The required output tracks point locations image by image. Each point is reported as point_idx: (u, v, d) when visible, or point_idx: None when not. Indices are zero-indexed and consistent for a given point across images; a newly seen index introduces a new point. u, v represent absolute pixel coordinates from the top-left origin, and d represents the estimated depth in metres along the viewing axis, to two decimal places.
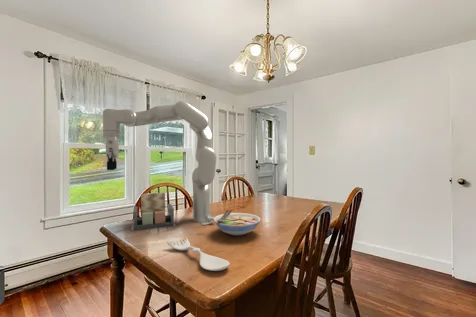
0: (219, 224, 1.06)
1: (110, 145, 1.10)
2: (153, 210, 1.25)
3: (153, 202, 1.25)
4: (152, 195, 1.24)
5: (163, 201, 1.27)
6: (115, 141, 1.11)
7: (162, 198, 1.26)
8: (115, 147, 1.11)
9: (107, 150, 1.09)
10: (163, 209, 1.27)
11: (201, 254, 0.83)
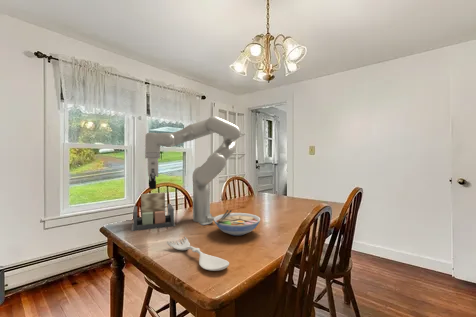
0: (219, 224, 1.06)
1: (153, 166, 1.21)
2: (153, 210, 1.25)
3: (153, 202, 1.25)
4: (152, 195, 1.24)
5: (163, 201, 1.27)
6: (157, 162, 1.22)
7: (162, 198, 1.26)
8: (157, 168, 1.22)
9: (150, 171, 1.20)
10: (163, 209, 1.27)
11: (201, 254, 0.83)
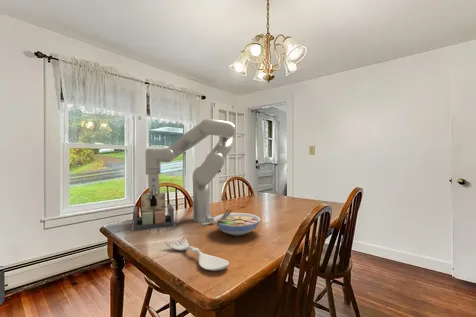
0: (219, 224, 1.06)
1: (153, 183, 1.21)
2: (153, 210, 1.25)
3: None
4: None
5: (163, 201, 1.27)
6: (157, 178, 1.22)
7: (162, 198, 1.26)
8: (157, 184, 1.22)
9: (151, 187, 1.20)
10: (163, 209, 1.27)
11: (200, 254, 0.83)
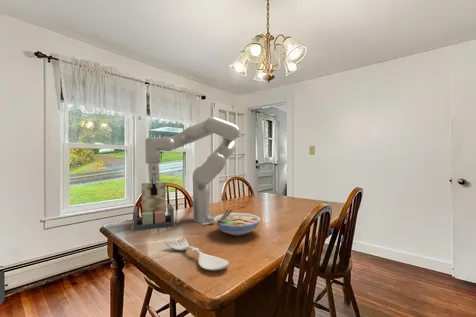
0: (219, 224, 1.06)
1: (153, 171, 1.21)
2: (154, 199, 1.25)
3: None
4: None
5: (164, 190, 1.27)
6: (157, 167, 1.22)
7: (162, 187, 1.26)
8: (158, 172, 1.22)
9: (151, 176, 1.20)
10: (164, 198, 1.27)
11: (200, 254, 0.83)
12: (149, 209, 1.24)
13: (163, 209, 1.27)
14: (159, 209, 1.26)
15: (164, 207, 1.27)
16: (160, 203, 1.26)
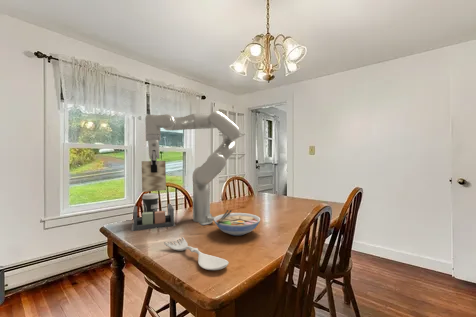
0: (219, 224, 1.06)
1: (154, 148, 1.21)
2: (154, 177, 1.25)
3: None
4: None
5: (164, 169, 1.26)
6: (157, 144, 1.22)
7: (163, 166, 1.26)
8: (158, 149, 1.22)
9: (151, 152, 1.20)
10: (164, 177, 1.27)
11: (199, 254, 0.84)
12: (149, 187, 1.24)
13: (163, 187, 1.27)
14: (159, 187, 1.26)
15: (164, 186, 1.27)
16: (160, 181, 1.26)
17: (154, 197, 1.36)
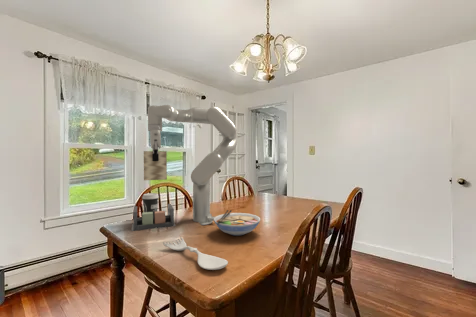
0: (219, 224, 1.06)
1: (155, 137, 1.26)
2: (155, 167, 1.30)
3: None
4: None
5: (165, 159, 1.31)
6: (159, 134, 1.27)
7: (164, 156, 1.31)
8: (159, 139, 1.27)
9: (153, 141, 1.25)
10: (165, 166, 1.31)
11: (199, 254, 0.84)
12: (151, 176, 1.29)
13: (164, 177, 1.31)
14: (160, 176, 1.31)
15: (165, 175, 1.32)
16: (161, 170, 1.31)
17: (154, 197, 1.36)
